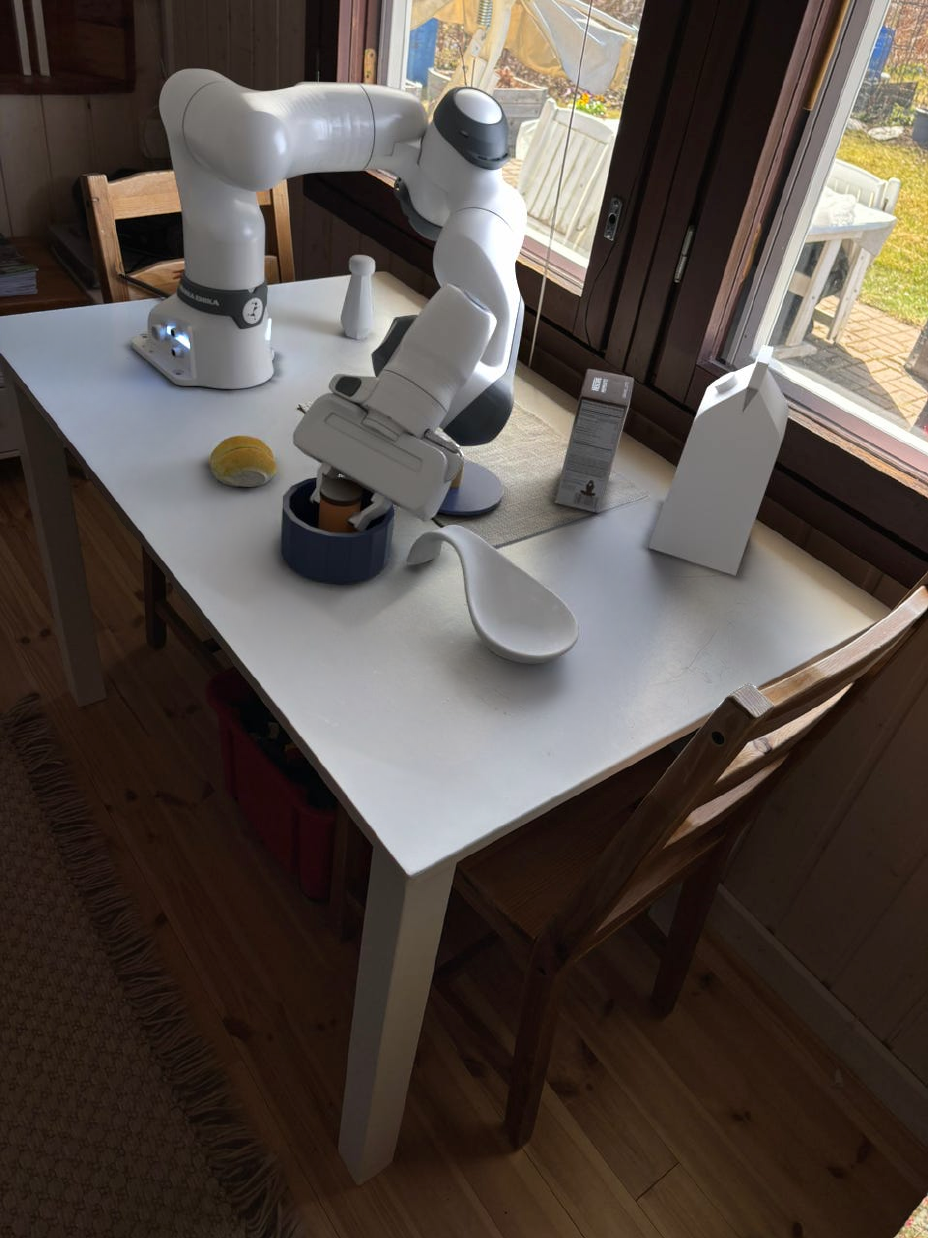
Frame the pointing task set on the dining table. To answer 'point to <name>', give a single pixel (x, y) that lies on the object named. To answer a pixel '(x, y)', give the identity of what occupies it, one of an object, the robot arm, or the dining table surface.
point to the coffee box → (594, 439)
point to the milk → (724, 469)
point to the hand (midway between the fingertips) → (335, 516)
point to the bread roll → (242, 462)
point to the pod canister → (338, 504)
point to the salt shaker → (359, 299)
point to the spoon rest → (504, 599)
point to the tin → (332, 541)
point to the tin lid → (472, 491)
